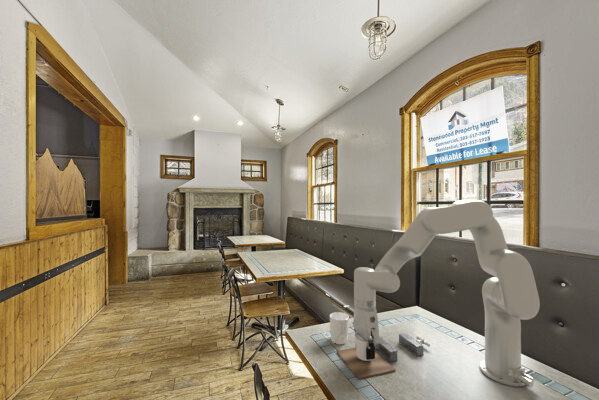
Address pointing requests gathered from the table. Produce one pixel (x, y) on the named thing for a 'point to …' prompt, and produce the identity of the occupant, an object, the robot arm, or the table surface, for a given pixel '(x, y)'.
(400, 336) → the vise
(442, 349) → the table surface
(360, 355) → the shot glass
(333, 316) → the white cup
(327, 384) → the table surface
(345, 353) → the serving board
